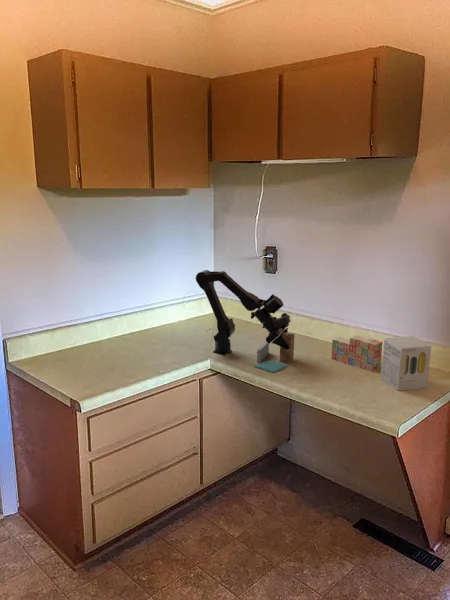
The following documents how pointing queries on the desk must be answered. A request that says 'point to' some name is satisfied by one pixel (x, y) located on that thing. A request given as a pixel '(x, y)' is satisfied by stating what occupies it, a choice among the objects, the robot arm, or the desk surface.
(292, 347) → the letter block
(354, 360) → the stack of blocks
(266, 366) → the mat
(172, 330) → the desk surface
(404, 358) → the supplement box
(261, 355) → the screen
